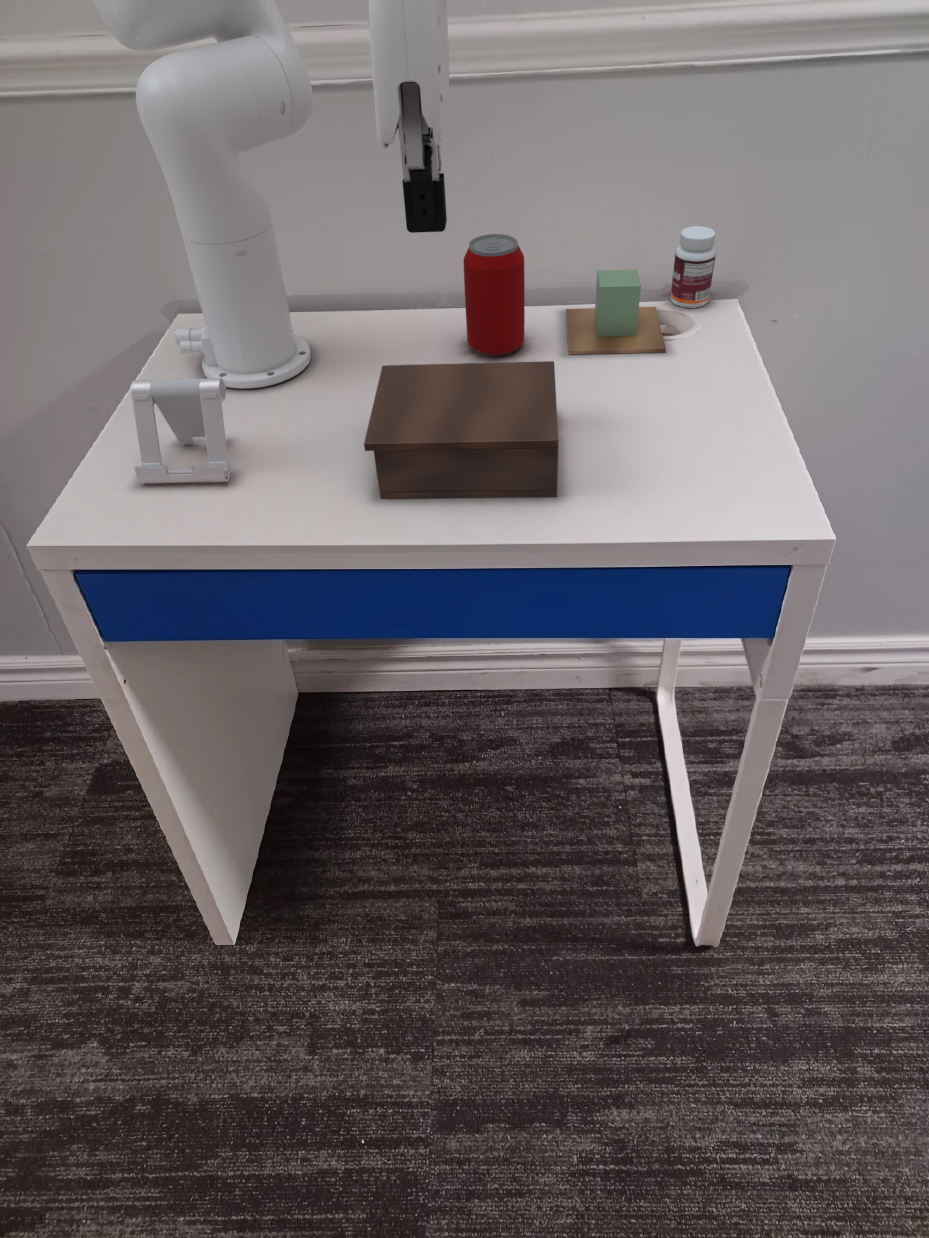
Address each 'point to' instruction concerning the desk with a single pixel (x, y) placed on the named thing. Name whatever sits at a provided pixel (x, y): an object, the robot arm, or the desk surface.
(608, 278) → the green block
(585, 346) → the coaster
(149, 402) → the tablet stand
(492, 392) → the lid
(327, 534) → the desk surface
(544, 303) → the desk surface
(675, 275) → the pill bottle
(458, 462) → the chest
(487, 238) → the beverage can
